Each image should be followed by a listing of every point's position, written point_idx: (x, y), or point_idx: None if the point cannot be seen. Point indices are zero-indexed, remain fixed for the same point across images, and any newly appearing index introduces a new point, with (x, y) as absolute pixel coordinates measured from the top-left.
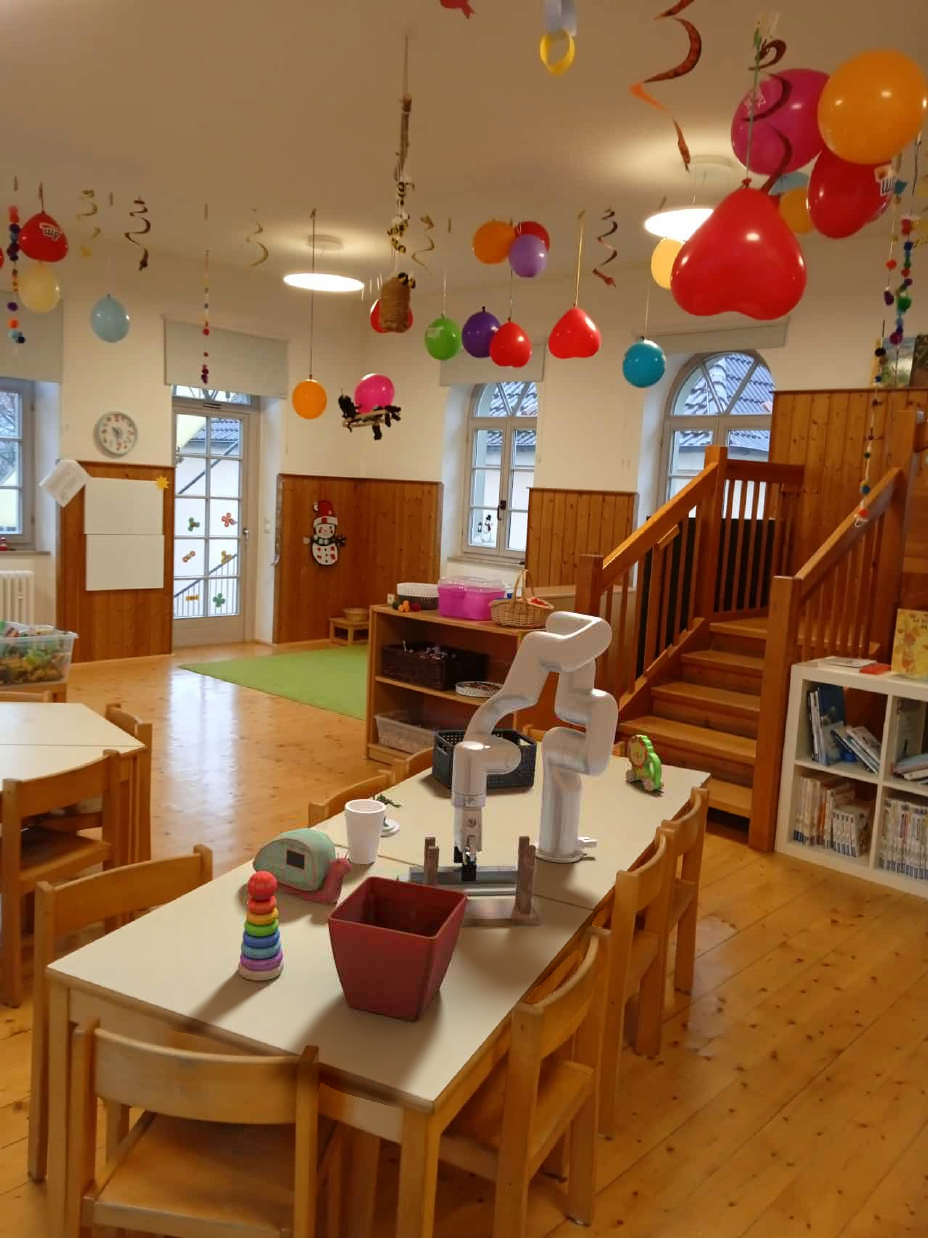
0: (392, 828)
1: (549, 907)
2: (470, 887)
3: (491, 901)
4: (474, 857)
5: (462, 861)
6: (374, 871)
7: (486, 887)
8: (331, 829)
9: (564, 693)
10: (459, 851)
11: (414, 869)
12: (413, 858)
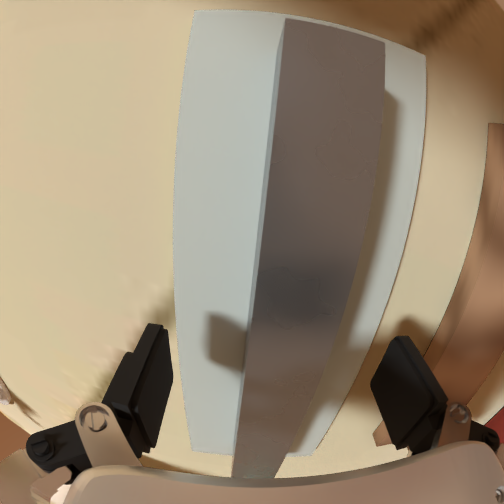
0: None
1: (496, 67)
2: (345, 315)
3: (489, 276)
4: (502, 448)
5: (166, 354)
6: (162, 456)
7: (368, 244)
8: (17, 420)
9: None
10: (154, 415)
11: (253, 474)
12: (65, 380)
